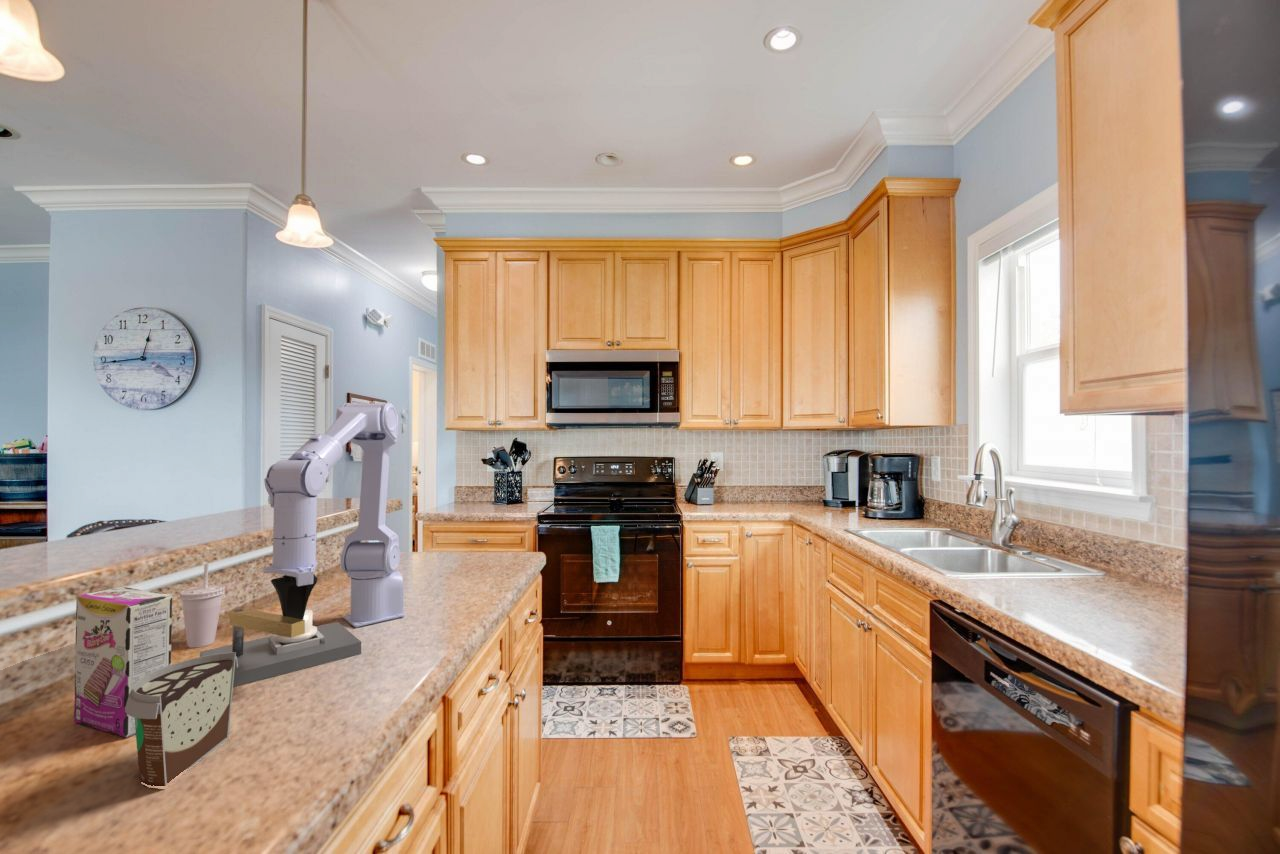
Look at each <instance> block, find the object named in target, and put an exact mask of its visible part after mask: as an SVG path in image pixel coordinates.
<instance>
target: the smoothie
mask: <svg viewBox="0 0 1280 854" xmlns="http://www.w3.org/2000/svg"><path fill="white" fill-rule="evenodd" d="M203 565H204V567H203V569H204V570H203V585H200V586H199V585H198V586H195V587H189V588H186V589H184V590H181V591H179V597H178V599H179V600H181V604H182V605H181V607H182V613H183V621H184V627H185V635H186V642H187V643H186V645H187V648H190V649H195V648H203V647H207V646H210V645H212V644H214V643H215V640H216V636H217V632H218V631H217V630H218V625H219V619H220V618H219V616H220V613H221V607H222V600H223V595H224V594H225V593H226V586H225V585H223V584H209V563H205V564H203Z"/></svg>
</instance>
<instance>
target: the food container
mask: <svg viewBox="0 0 1280 854" xmlns="http://www.w3.org/2000/svg"><path fill="white" fill-rule="evenodd" d="M235 668H238V661H237V657H236V652H232V653H220V654H213V655H207V656H202V657H200V656H197V657H193V658H191V659H185V660H182V661H179V662H176V663H173V664H172V663H171V665H169V666H166V667H163V668H161V669H158V670H156V671H154V672H152V673H150V674H148V675H146V676H144V677H143V678H141V679H140V680H138V681H137V682H136V683H135V685H134V687H133V689H132V690H131V692H130V694H129V697H128V700H127V704H126V707H125V712H126V713H127V714H128V715H129V716H131V717H134V718H135V730H136V734H135V740H136V742H135V743H136V751H137V752H136V753H137V763H138V765H137V766H138V773H139V774H138V775H139V781H140V780H141V782H143V783H145V784H147V785H151V786H153V785H154V786H166V785H167V783H169V782H170V781H171V780H172V779H174V778H175V777H176V776H178V775H179V774H180V773H181V772H183V771H184V770H186V769H189V768H190V767H192V766H193V765H195V764H196V763H197V762H199V761H200V760H201V759H202V758H204V757H205V756H206V755H207V756H208V754H209V753H210V754H211V753H212V752H214V751H215V750H216V749H218V748H219V747H220V746H221V745H222V744H223V743H224V742H226V741H227V740H228V739H229V736H230V724H231V715H232V713H231V711H232V702H233V700H232V699H233V692H234V691H233V689H234V687H233V681H234V670H235ZM210 754H209V755H210ZM207 756H206V757H207ZM206 757H205V758H206ZM202 760H203V759H202ZM202 760H201V761H202ZM201 761H200V762H201ZM200 762H199V763H200ZM197 764H198V763H197ZM197 764H196V765H197ZM196 765H195V766H196ZM192 768H193V767H192Z"/></svg>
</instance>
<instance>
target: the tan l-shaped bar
mask: <svg viewBox="0 0 1280 854" xmlns="http://www.w3.org/2000/svg"><path fill="white" fill-rule="evenodd" d="M282 615H283V614H282ZM282 615H280V614H275V613H272V612H271V613H270V612H264V611H260V610H255V609H249V608H244V607H243V608H239V609H235V610H232V611H230V612H229V622H228V624H229V626H232V641H231V642H232V644H231V645H232V652H236V657H237V656H241V655H243V642H245V641H244V637H245V636H244V634H245V633H244V631H245V629H249V630H253V631H257V632H262V633H267V634H271V635H274V636H275V635H280V636H285V637H289V638H293V637H295V636H298V635H301V634H304V633H305V620H303V619H297V618H292V617H287V616H282Z"/></svg>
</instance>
